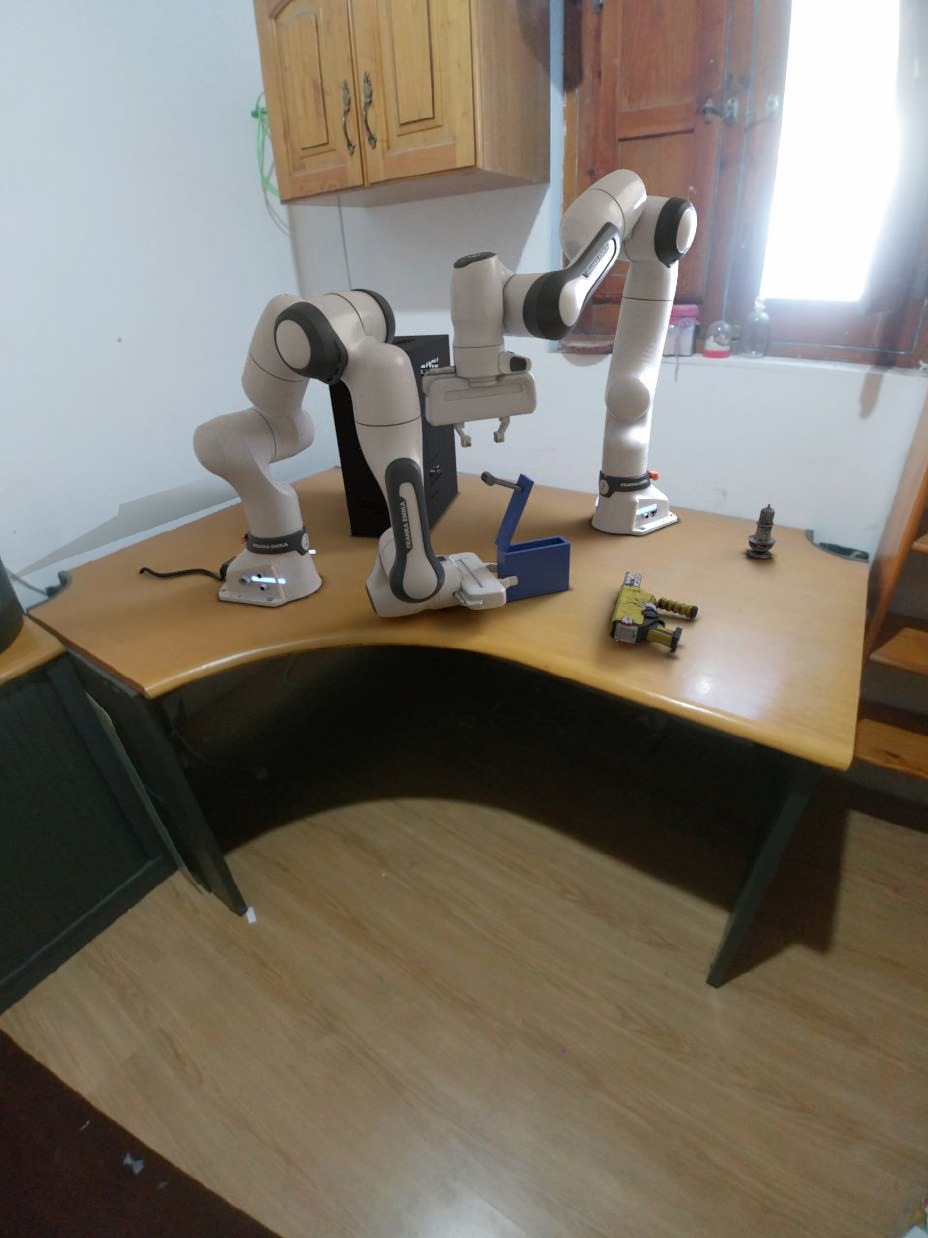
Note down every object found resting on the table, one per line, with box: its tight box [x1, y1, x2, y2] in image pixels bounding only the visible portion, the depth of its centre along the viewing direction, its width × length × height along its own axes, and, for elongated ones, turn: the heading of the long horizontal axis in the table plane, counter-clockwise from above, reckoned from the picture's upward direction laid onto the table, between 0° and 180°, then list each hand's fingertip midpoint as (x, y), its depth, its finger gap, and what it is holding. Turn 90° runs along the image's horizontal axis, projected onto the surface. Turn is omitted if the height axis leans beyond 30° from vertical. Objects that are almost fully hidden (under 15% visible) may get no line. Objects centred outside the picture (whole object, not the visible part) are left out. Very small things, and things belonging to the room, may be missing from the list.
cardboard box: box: [327, 333, 459, 538], centre depth 164 cm, size 38×20×45 cm, turn 167°
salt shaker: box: [746, 503, 777, 559], centre depth 136 cm, size 6×6×12 cm
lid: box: [480, 470, 535, 553], centre depth 117 cm, size 15×5×9 cm
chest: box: [496, 534, 571, 603], centre depth 126 cm, size 14×5×11 cm, turn 107°
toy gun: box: [608, 570, 699, 654], centre depth 115 cm, size 5×24×15 cm
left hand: (510, 573), depth 125 cm, fingers closed on chest, 5 cm apart
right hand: (482, 444), depth 110 cm, fingers open, 5 cm apart
